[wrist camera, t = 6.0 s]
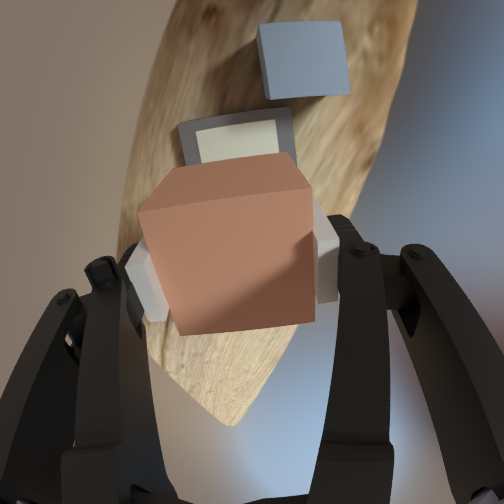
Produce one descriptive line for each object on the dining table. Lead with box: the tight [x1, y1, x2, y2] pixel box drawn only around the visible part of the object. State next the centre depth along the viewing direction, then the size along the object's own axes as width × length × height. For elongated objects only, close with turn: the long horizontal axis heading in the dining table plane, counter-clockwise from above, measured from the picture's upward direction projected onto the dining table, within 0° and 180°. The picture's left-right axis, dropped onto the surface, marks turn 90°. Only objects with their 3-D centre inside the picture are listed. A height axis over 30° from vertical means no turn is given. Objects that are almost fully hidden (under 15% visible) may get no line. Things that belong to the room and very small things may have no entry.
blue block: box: [256, 21, 351, 100], centre depth 20 cm, size 6×6×6 cm
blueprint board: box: [177, 106, 297, 166], centre depth 26 cm, size 10×9×2 cm
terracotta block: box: [137, 152, 315, 336], centre depth 14 cm, size 6×6×6 cm
